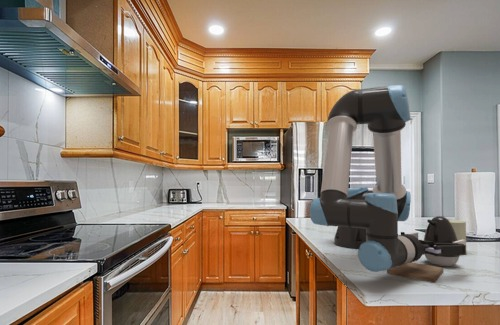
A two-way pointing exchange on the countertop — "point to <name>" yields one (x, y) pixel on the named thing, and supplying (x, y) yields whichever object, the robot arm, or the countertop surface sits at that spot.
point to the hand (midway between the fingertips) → (439, 240)
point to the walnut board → (417, 271)
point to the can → (459, 229)
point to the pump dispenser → (441, 239)
